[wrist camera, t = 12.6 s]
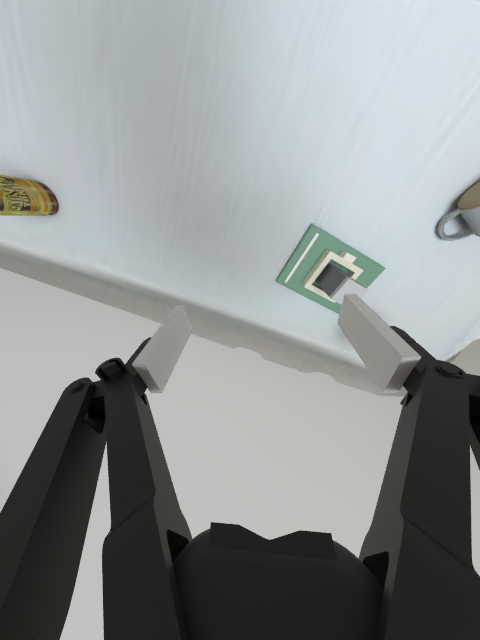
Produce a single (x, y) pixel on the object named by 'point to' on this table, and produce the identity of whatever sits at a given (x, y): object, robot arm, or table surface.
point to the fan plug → (338, 284)
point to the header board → (312, 260)
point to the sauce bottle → (25, 197)
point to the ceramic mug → (465, 214)
